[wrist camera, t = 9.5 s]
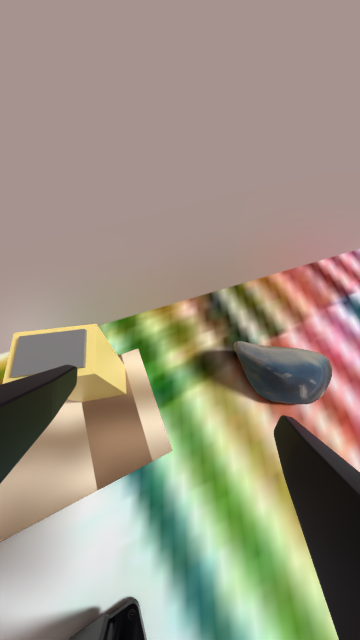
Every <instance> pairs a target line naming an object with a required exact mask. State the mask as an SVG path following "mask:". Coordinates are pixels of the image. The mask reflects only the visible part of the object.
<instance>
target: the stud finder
mask: <svg viewBox="0 0 360 640" xmlns="http://www.w3.org/2000/svg"><path fill="white" fill-rule="evenodd" d="M67 364H68V365H73V366H76V367H77V369H78V371H77V384H76V386H75V388H74V390H73V391H72V393H71V394H70V396H69V397H68V400H74V401H79V402H85V401H91V400H96V399H102V398H107V397H113V396H119V395H124V394H126V374H125V365H124V364H123V362H122V361H121V360H120V358H119V357H118V355H117V354H116V352H115V351H114V349H113V348H112V346H111V345H110V343H109V342H108V341H107V339H106V338H105V336H104V335H103V333H102V332H101V330H100V329H99V327H98V326H97V325H96V324H90V325H82V326H72V327H63V328H54V329H45V330H36V331H27V332H18V333H14V336H13V340H12V344H11V349H10V353H9V357H8V361H7V366H6V370H5V374H4V379H3V383H2V384H4V383H8V382H11V381H14V380H17V379H21V378H24V377H27V376H31V375H34V374H37V373H40V372H44V371H47V370H50V369H53V368H57V367H60V366H63V365H67Z"/></svg>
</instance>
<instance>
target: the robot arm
mask: <svg viewBox="0 0 360 640" xmlns="http://www.w3.org/2000/svg"><path fill="white" fill-rule="evenodd" d="M77 371H78V369H77V367H76V366H73V365H68V364H67V365H63V366H60V367H57V368H53V369H50V370H47V371H44V372H40V373H37V374H34V375H31V376H27V377H24V378H21V379H17V380H14V381H11V382H8V383H4V384H1V385H0V484H1V483H2V481H3V480H4V479H5V478H6V476H7V475H8V474H9V473H10V472H11V470H12V469H13V468H14V467H15V466H16V464H17V463H18V462H19V461H20V460H21V458H22V457H23V456H24V455H25V453H26V452H27V451H28V450H29V449H30V447H31V446H32V445H33V444H34V443H35V441H36V440H37V439H38V438H39V437H40V435H41V434H42V433H43V432H44V430H45V429H46V428H47V427H48V426H49V424H50V423H51V422H52V420H53V419H54V418H55V416H56V415H57V413H58V412H59V410H60V409H61V407H62V406H63V405H64V403H65V402H66V400H67V399H68V397H69V396H70V394H71V393H72V391H73V390H74V388H75V386H76V384H77ZM274 438H275V442H276V446H277V450H278V454H279V458H280V462H281V466H282V470H283V474H284V477H285V480H286V484H287V487H288V490H289V493H290V496H291V499H292V502H293V505H294V507H295V510H296V513H297V516H298V519H299V522H300V525H301V528H302V531H303V534H304V537H305V540H306V543H307V546H308V549H309V552H310V555H311V558H312V561H313V564H314V567H315V570H316V573H317V576H318V579H319V582H320V585H321V588H322V591H323V594H324V597H325V600H326V603H327V606H328V609H329V611H330V614H331V617H332V620H333V623H334V626H335V629H336V632H337V635H338V638H339V640H360V472H358V471H357V470H356V469H355V468H354V467H352V466H351V465H350V464H349V463H347V462H346V461H345V460H344V459H343V458H341V457H340V456H339V455H338V454H336V453H335V452H334V451H333V450H332V449H330V448H329V447H328V446H327V445H325V444H324V443H323V442H322V441H321V440H319V439H318V438H317V437H316V436H314V435H313V434H312V433H311V432H310V431H308V430H307V429H306V428H305V427H303V426H302V425H301V424H300V423H299V422H297V421H296V420H295V419H294V418H292V417H288V416H284V415H283V416H281V417H280V419H279V421H278V423H277V425H276V427H275V429H274ZM130 609H134V610H135V613H134V614H133V615H131V614H130V613H129V611H130ZM69 640H147V639H146V634H145V630H144V625H143V620H142V616H141V611H140V606H139V603H138V601H137V600H136V599H134V598H133V599H130V600H129V601H128V602H126V603H125V604H123V605H122V606H121V607H119V608H118V609H116V610H115V611H114V612H112V613H111V614H109V615H108V614H104V615H102V616H101V617H99V618H98V619H97V620H95V621H94V622H92V623H91V624H89V625H88V626H87V627H85V628H84V629H82V630H81V631H80V632H78V633H77V634H75V635H74V636H73V637H71V638H70V639H69Z"/></svg>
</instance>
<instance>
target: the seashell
mask: <svg viewBox="0 0 360 640" xmlns="http://www.w3.org/2000/svg"><path fill="white" fill-rule="evenodd" d="M233 347H234V350H235V352H236V354H237V356H238V358H239V360H240V363H241V366H242V368H243V370H244V372H245V374H246V376H247V378H248V380H249V382H250V384H251V385H252V387H253V388H254V389H255V391H256V392H257V393H258V394H259V395H261V396H262V397H264V398H266V399H268V400H270V401H274V402H281V403H290V404H294V403H296V404H310V403H313V402H315V401H316V400H318V399H319V398H320V397H321V396H322V395H323V394H324V392H325V390H326V389H327V387H328V385H329V383H330V380H331V377H332V368H331V364H330V362H329V360H328V359H327V358H326V357H325V356H323V355H322V354H319V353H317V352H313V351H309V350H304V349H297V348H287V347H273V346H262V345H255V344H250V343H246V342H241V341H237V342H235V343H234V346H233Z"/></svg>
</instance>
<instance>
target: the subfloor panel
mask: <svg viewBox="0 0 360 640" xmlns="http://www.w3.org/2000/svg"><path fill="white" fill-rule="evenodd" d="M118 357H119V358H120V360H121V361H122V362H123V364H124V365H125V374H126V394H124V395H119V396H113V397H107V398H102V399H96V400H91V401H85V402H79V401H74V400H68V399H67V400H66V402H65V403H64V405H63V406H62V407H61V409H60V410H59V412H58V413H57V415H56V416H55V418H54V419H53V420H52V422H51V423H50V424H49V426H48V427H47V428H46V429H45V430H44V432H43V433H42V434H41V435H40V437H39V438H38V439H37V440H36V441H35V443H34V444H33V445H32V446H31V447H30V449H29V450H28V451H27V452H26V453H25V455H24V456H23V457H22V458H21V460H20V461H19V462H18V463H17V464H16V466H15V467H14V468H13V469H12V470H11V472H10V473H9V474H8V475H7V476H6V478H5V479H4V480H3V481H2V483H1V484H0V542H1V541H3V540H5V539H7V538H9V537H11V536H13V535H14V534H16V533H18V532H20V531H22V530H24V529H26V528H28V527H29V526H31V525H33V524H35V523H37V522H39V521H41V520H43V519H45V518H46V517H48V516H50V515H52V514H54V513H56V512H58V511H60V510H62V509H63V508H65V507H67V506H69V505H71V504H73V503H75V502H77V501H78V500H80V499H82V498H84V497H86V496H88V495H90V494H92V493H94V492H95V491H97V490H99V489H101V488H103V487H105V486H107V485H109V484H111V483H112V482H114V481H116V480H118V479H120V478H122V477H124V476H126V475H127V474H129V473H131V472H133V471H135V470H137V469H139V468H141V467H143V466H144V465H146V464H148V463H150V462H152V461H154V460H156V459H158V458H159V457H161V456H163V455H165V454H167V453H169V452H171V451H172V448H171V445H170V442H169V439H168V436H167V433H166V430H165V427H164V424H163V421H162V418H161V415H160V412H159V409H158V407H157V404H156V401H155V398H154V395H153V392H152V389H151V386H150V383H149V380H148V377H147V374H146V371H145V368H144V365H143V362H142V359H141V356H140V353H139V350H138V349H135V350H133V351H130V352H127V353H124V354H121V355H118Z"/></svg>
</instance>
